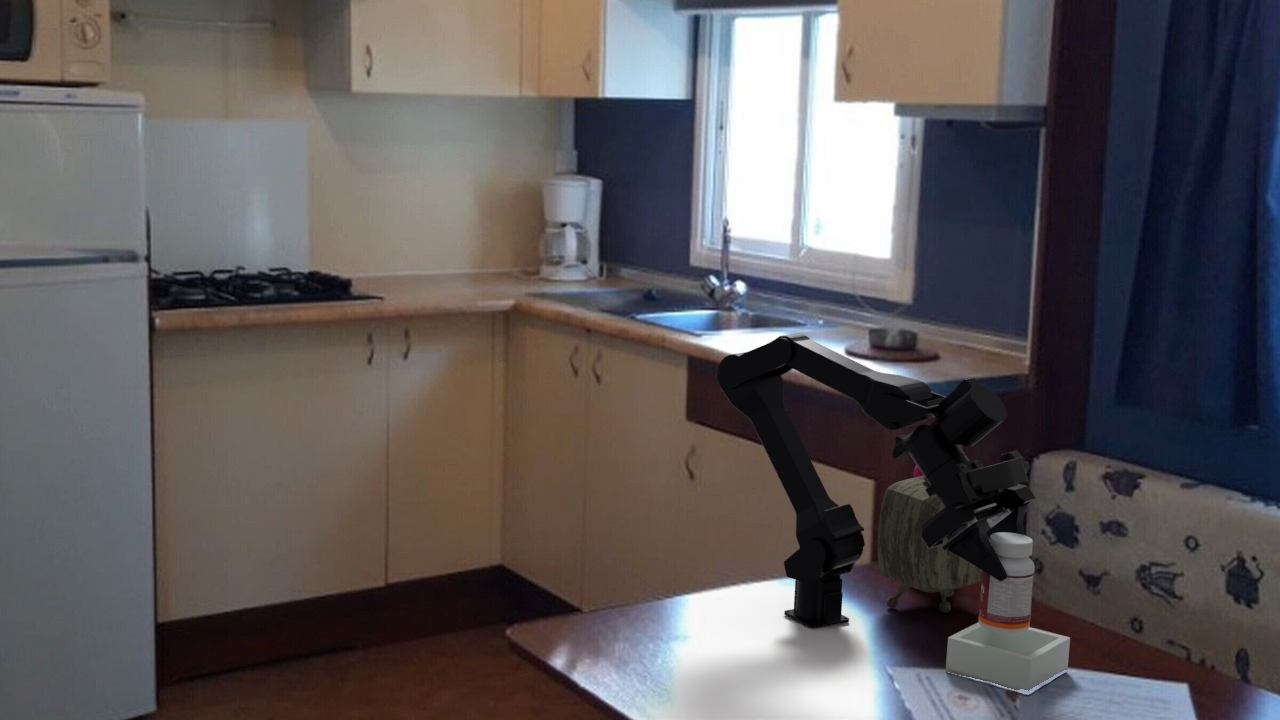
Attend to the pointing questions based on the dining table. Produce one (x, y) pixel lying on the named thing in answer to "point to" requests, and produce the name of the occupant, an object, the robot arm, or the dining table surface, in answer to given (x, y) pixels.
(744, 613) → the dining table surface
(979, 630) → the sage open tray box
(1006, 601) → the pill bottle
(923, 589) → the tabletop clock
